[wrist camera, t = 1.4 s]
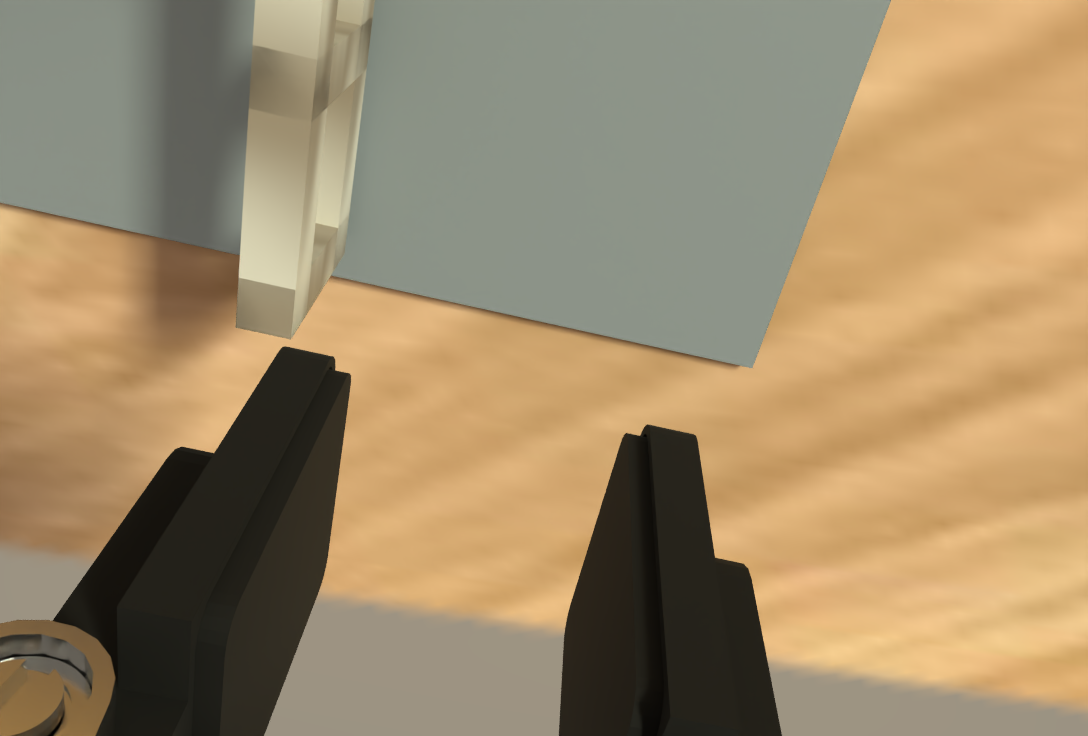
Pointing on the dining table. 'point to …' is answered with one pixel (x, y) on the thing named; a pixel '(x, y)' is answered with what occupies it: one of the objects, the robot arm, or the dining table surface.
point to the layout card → (474, 146)
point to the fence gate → (299, 155)
